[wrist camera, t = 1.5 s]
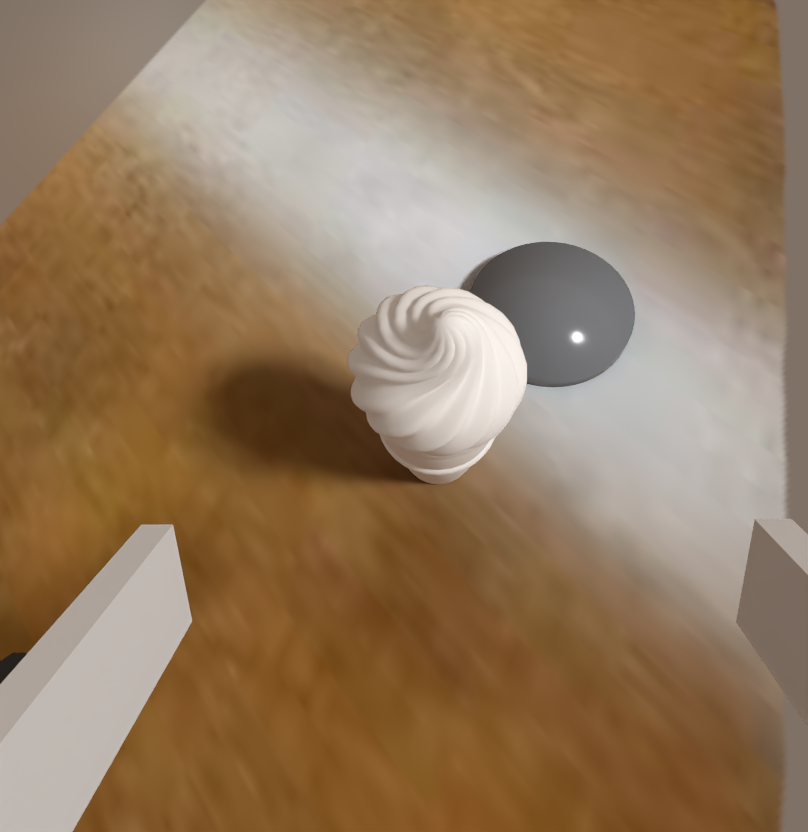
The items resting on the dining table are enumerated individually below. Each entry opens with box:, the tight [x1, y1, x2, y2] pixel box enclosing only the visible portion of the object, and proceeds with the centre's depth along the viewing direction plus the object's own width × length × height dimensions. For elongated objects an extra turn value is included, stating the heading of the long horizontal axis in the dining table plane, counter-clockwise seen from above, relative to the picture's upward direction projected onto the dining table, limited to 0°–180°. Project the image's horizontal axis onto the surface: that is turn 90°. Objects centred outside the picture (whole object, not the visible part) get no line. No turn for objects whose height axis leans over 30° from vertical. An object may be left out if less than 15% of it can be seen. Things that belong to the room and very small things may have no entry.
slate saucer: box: [471, 242, 635, 387], centre depth 41 cm, size 11×11×1 cm
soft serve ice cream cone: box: [347, 286, 527, 484], centre depth 31 cm, size 8×8×16 cm
